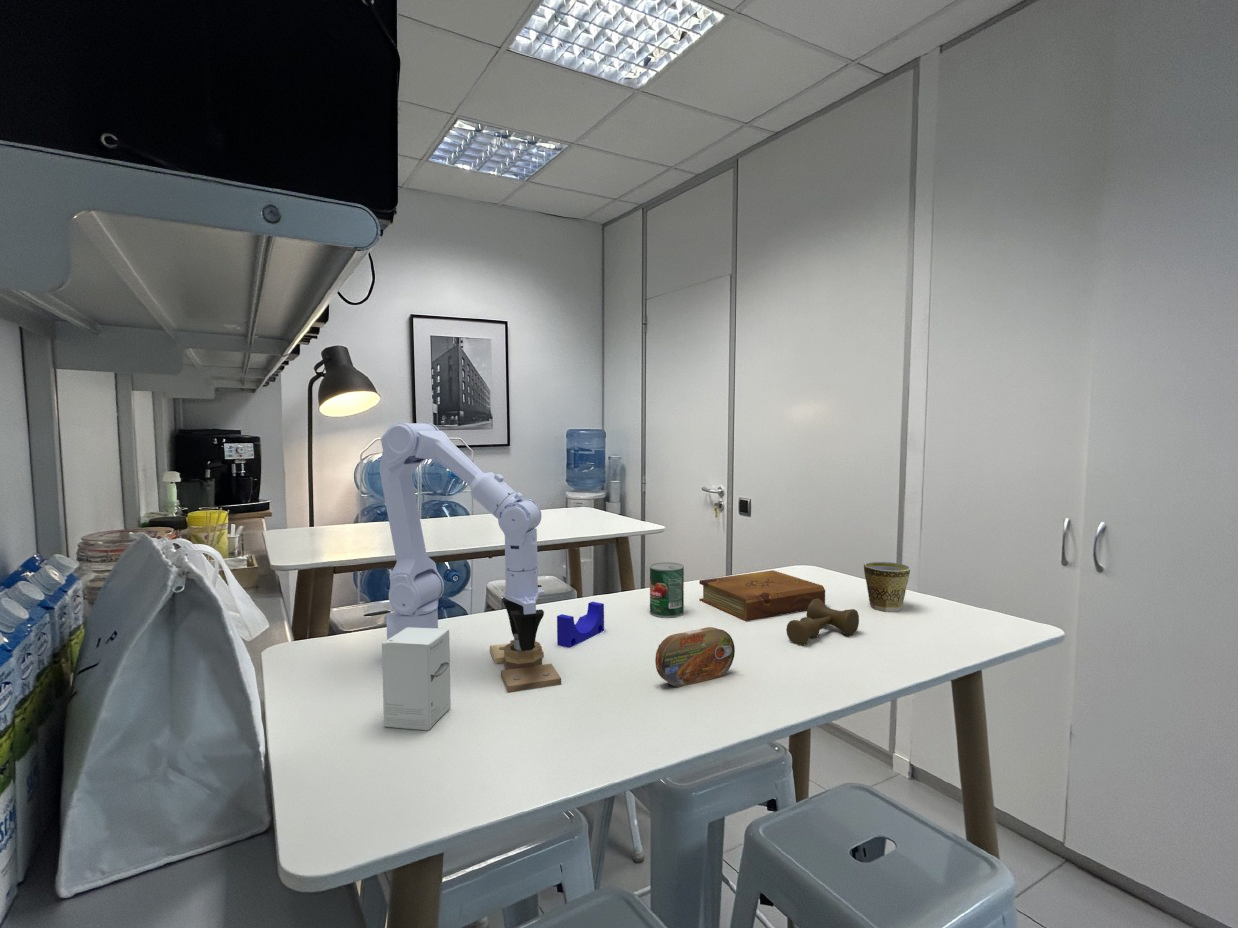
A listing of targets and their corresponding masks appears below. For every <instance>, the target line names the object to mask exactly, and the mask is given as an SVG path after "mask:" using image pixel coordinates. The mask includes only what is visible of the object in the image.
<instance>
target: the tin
mask: <svg viewBox="0 0 1238 928" xmlns="http://www.w3.org/2000/svg"><path fill="white" fill-rule="evenodd" d="M735 652H736V648H735V642H734V639H733V638H732V636H731V634H729V632H727V631H726V630H723V629H721V628H716V627H712V626H711V627H710V626H709V627H708V626H707V627H704V628H698V629H697V628H696V629H695V630H693V629H692V630H688V631H683V632H678V633H675V634H671V635H668V636H667V637H666V638H664V639H663V640H661V643H660V644H659V645H658V647H657V649H656V652H655V660H654V661H655V662H654V663H655V668H656V672H657V674H658V675H659V677H660V678H661V679H662V680H664V681H665V682H667V683H668V684H669V685H671V686H673V687H677V688H682V687H686V686H691V685H693V684H694V685H695V684H698V683H701V682H706V681H709V680H714V679H717V678H720V677H722V676H724V675H725V674H726V673H727V672H728V671H729V670H730V668H731V666H732V665H733V661H734V660H735V654H736V653H735Z"/></svg>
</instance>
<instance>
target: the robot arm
mask: <svg viewBox="0 0 1238 928" xmlns="http://www.w3.org/2000/svg"><path fill="white" fill-rule="evenodd" d="M380 442H381V446H382V447H381V448H382V452H381V453H382V455H381V457H380V463H379V476H380V481H381V486H382V491H383V497H384V502H385V507H386V513H387V517H388V518H387V519H388V523H389V528H390V533H391V538H392V539H391V540H392V543H393V545H392V546H393V549H394V555H395V560H396V563H395V565H394V567H393V569H392V570H391V573H390V574H389V583H390V585H389V589H388V601H389V604H390V606H391V607H392V609H393V610H394V612H393V611H392V612H387V613H386V640H388V639H389V638H391V637H393V636H394V635H396V634H397V633H399V632H400V631H402V630H403V629H405V628H407V627H410V628H437V629H439V616H438V615H439V614H438V613H439V612H438V611H439V610H438V606H439V600H440V598H441V597H442V596H443V593H444V591H445V582H444V580H443V578H442V576H441V574H440V573H439V571H438V569H437V568H438V567H437V564H436V562H435V561H434V560H433V559H431V558H430V557H429V556H428V554H427V549H426V544H425V539H424V535H423V528H422V524H421V523H422V522H421V517H420V514H419V513H420V512H419V508H418V501H417V498H416V497H417V496H416V491H415V486H414V481H413V474H414V473H415V471H416V470H417V469H418V467H419V466H420V465H421V464H422V463H423V462H425V461H426V460H433V461H437V462H439V463H440V464H441V465H442V466H444V467H445V468H446V469H448V470H449V471H450V472H451V473H453V474H454V475H455V476H456V477H458V478H459V479H460V480H462V481H463V482H464V483H466V484H467V485H468V486H469V487H470V495H471V497H472V498H473V499H474V500H475V501H476V502H478V503H479V504H480V505H481V506H482V507H483V508H484V509H486V510H487V511H488V513H490V514H491V515H492V516H494V518H496V519H497V521H498V523H497V524H498V526H499V528H500V530H501V531H502V533H503V534H504V567H505V569H504V576H505V578H504V579H505V592H504V597H502V598H501V602H502V603H503V605H504V608H505V609H506V613H507V615H508V620H509V625H510V630H511V634H512V637H513V638H514V633H516V632H517V633H518V640H519V645H520V648H521V651H525V650H532V649H533V648H534V644H535V640H537V639H536V638H537V632H538V629H539V625H540V623H541V621H542V619H543V617H544V615H545V611H544V610H543V609H537V601H538V599H539V597H540V596H545V590H544V589H543V588H539V587H538V586H539V583H538V582H539V580H538V579H539V578H538V575H539V574H538V573H539V572H538V530H537V527H539V525H540V524H541V521H542V511H541V508H540V506H539V505H538V504H537V503H536V501H535V500H533V499H530V498H523V497H524V495H523V494H522V493H521V492H520V491H518V492H517V491H515V489H513V488H512V487H511V486H509V484H507V483H506V482H505V481H504V479H505V477H504V476H503V475H502V474H501V473H496V474H495V473H494V472H492V471H489V472H483V471H482V470H481V469H480V467H478V466H477V465H476V464H475V463H474V462H473V461H472V460H471V459H470V458H469V456H467V455H466V454H464V453H463V451H462V450H461V449H459V448H458V446H456V445H455V444H454V442H452V440H450V439H449V437H448V435H447V434H446V433H445V432H444V431H442V430H439V428H438V426H436V425H435V424H433V423H430V422H419V423H414V422H413V423H412V422H411V423H410V422H409V423H406V422H395V423H394V424H393V423H392V425H390V426H389V427H388V429H387V430H386V431H385V432H384V434H383V435H382V436H381V437H380Z"/></svg>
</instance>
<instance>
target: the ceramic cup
mask: <svg viewBox="0 0 1238 928" xmlns="http://www.w3.org/2000/svg"><path fill="white" fill-rule="evenodd" d="M863 570H864V572H863V573H864V578H865V582H866V589H867V593H868V594H867V595H868V601H869V606H870V607H871V608H872V609H873V610H874V611H875V610H876V611H879V612H880V611H881V612H885V613H897V612H899V611H901V610H903V606H904V601H905V600H904V599H905V596H906V592H907V586H908V583H909V579H910V573H911V567H910V566H908V565H906V564H903V563H899V562H893V561H892V562H891V561H869V562H865V563H863Z"/></svg>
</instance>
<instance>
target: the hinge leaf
mask: <svg viewBox="0 0 1238 928" xmlns="http://www.w3.org/2000/svg"><path fill="white" fill-rule="evenodd" d="M489 652H490V654H491V657H492V659H493V661H494V664H498V665H499V664H504V658H505V660H506V662H511V663H517V664H522V663H529V662H535V661H536V660H538V659H539V658H541V657H542V658H545V657H544V655H545V654H544V650H543V647H542V645H541V643H540V642H538V641H537V639H535V644H534V648H533V649H532V650H529V651H521V652H519V651H514V639H513V640H510V642H509V643H502V644H494V645H492V644H491V645H489Z"/></svg>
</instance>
